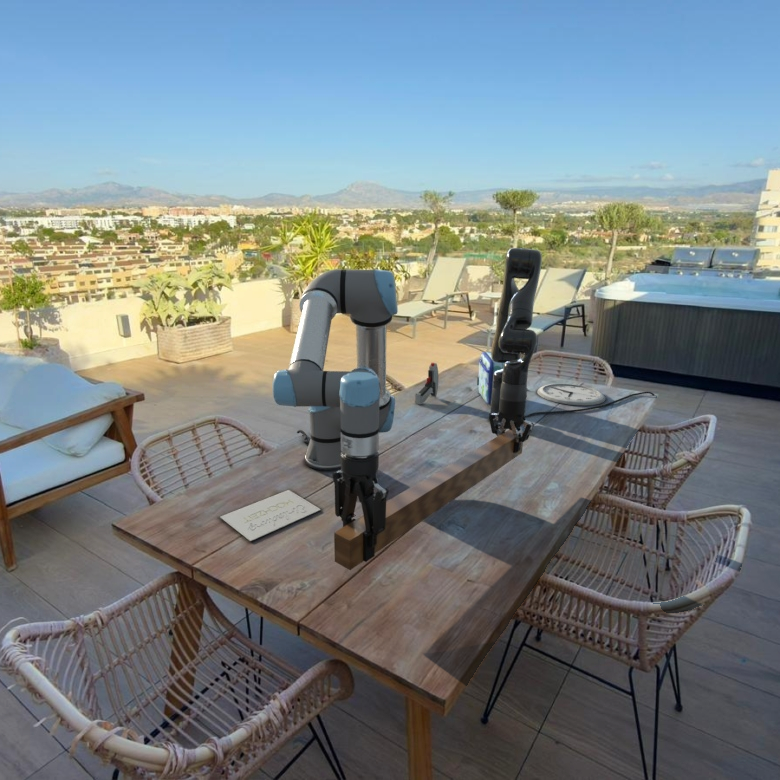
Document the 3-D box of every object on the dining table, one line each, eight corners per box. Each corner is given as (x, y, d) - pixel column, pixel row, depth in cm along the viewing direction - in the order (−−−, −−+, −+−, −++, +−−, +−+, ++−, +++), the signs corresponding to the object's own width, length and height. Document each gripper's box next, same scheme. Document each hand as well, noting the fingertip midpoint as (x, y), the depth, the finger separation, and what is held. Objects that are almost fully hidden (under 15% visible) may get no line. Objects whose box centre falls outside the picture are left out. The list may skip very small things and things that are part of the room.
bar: (508, 449, 164) (510, 428, 162) (522, 453, 161) (524, 432, 159) (334, 561, 108) (333, 532, 105) (350, 570, 105) (349, 540, 103)
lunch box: (475, 390, 246) (478, 346, 240) (498, 390, 246) (501, 347, 240) (484, 408, 221) (487, 360, 215) (509, 409, 221) (513, 360, 215)
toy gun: (414, 370, 220) (434, 361, 231) (415, 405, 226) (434, 395, 237) (419, 371, 219) (438, 362, 230) (419, 406, 225) (438, 396, 236)
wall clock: (618, 401, 228) (551, 402, 225) (618, 405, 228) (551, 406, 226) (588, 382, 256) (528, 382, 254) (587, 385, 257) (528, 385, 254)
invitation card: (288, 489, 150) (320, 509, 140) (288, 490, 150) (320, 510, 140) (219, 516, 136) (250, 540, 125) (219, 517, 136) (250, 541, 126)
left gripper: (315, 445, 106) (317, 545, 112) (381, 470, 95) (379, 579, 102) (341, 434, 111) (342, 530, 118) (406, 457, 100) (403, 561, 107)
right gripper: (485, 394, 154) (481, 447, 160) (530, 405, 146) (524, 460, 151) (497, 388, 160) (493, 440, 165) (541, 398, 151) (535, 452, 156)
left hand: (359, 553), depth 110 cm, fingers closed on bar, 4 cm apart
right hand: (508, 449), depth 158 cm, fingers closed on bar, 4 cm apart
